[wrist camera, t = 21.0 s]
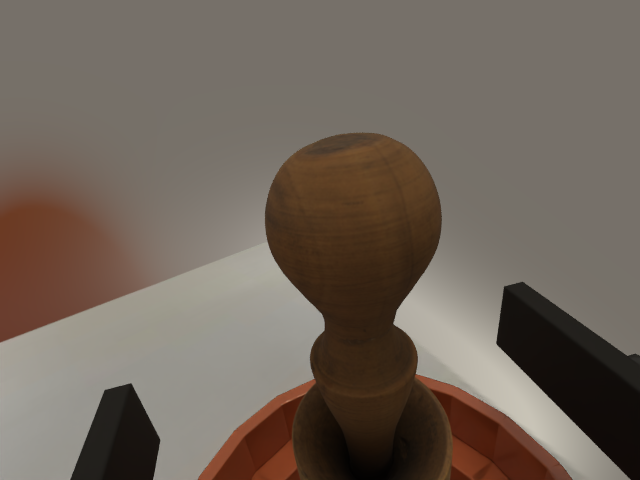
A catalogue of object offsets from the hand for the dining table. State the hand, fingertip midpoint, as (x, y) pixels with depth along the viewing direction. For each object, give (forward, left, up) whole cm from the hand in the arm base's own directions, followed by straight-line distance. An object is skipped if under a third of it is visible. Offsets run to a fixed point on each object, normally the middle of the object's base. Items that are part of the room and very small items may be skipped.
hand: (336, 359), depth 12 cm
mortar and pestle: (-3, +2, -10) cm, 11 cm away
